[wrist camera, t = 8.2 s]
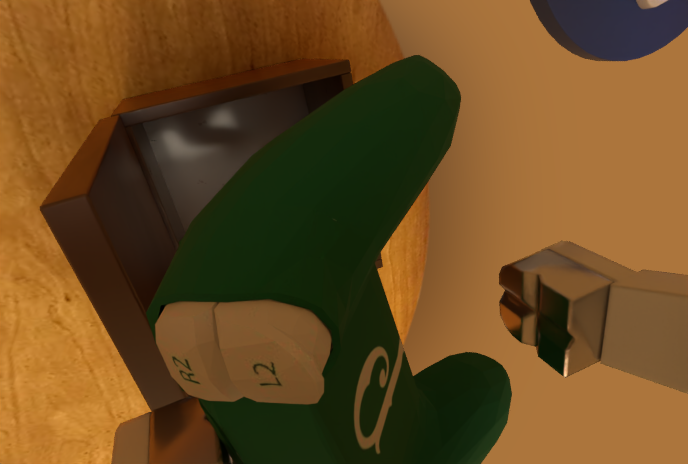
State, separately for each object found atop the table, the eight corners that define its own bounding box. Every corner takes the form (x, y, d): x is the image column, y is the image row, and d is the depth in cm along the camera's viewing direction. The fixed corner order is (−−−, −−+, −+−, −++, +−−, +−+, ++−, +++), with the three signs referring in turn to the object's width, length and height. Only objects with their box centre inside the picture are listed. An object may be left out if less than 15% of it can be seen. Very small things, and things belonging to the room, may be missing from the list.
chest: (303, 58, 27) (349, 59, 21) (338, 225, 33) (383, 266, 26) (121, 99, 24) (109, 115, 18) (193, 275, 30) (203, 336, 23)
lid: (87, 192, 8) (36, 207, 7) (266, 559, 13) (241, 574, 13) (119, 114, 18) (98, 119, 17) (212, 338, 23) (197, 344, 23)
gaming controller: (280, 82, 9) (17, 251, 5) (461, 34, 7) (316, 235, 3) (388, 370, 13) (308, 599, 9) (517, 385, 12) (496, 679, 7)
